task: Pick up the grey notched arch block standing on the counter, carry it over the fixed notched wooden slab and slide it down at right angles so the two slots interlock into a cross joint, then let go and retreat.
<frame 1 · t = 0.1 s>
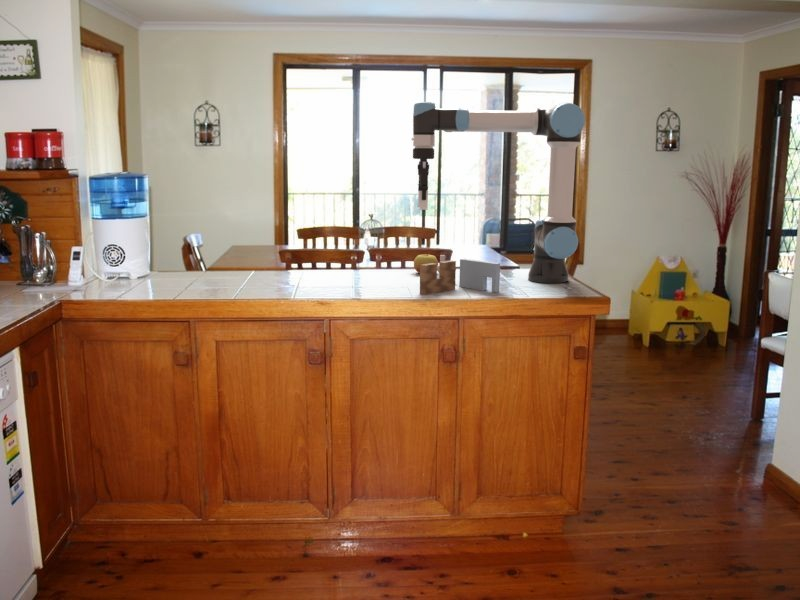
hand: (422, 208, 270), 28 cm above the table, fingers open, 13 cm apart
notched wooden slab: (437, 291, 264), on the table
grey notched arch block: (478, 289, 269), on the table
apple: (425, 273, 304), on the table
pipe connector: (442, 282, 284), on the table
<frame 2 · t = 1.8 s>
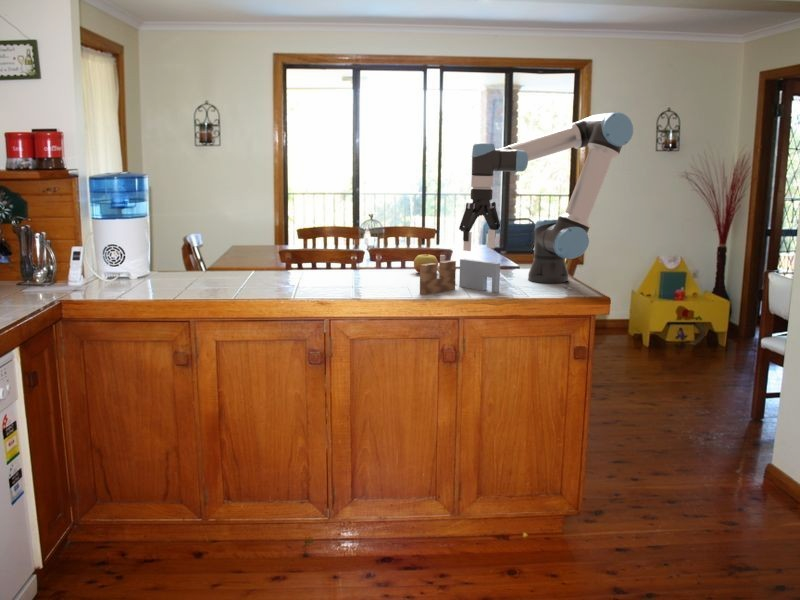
hand: (479, 249, 266), 14 cm above the table, fingers open, 13 cm apart
nothing on the table moved.
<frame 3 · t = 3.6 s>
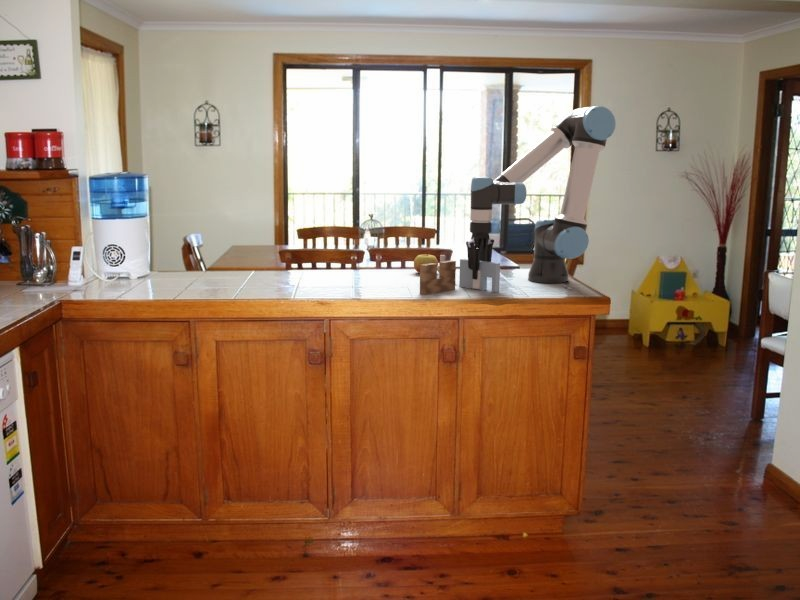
hand: (479, 287, 269), 1 cm above the table, fingers closed on grey notched arch block, 2 cm apart
grey notched arch block: (478, 289, 269), on the table, touching gripper
everything else where it was.
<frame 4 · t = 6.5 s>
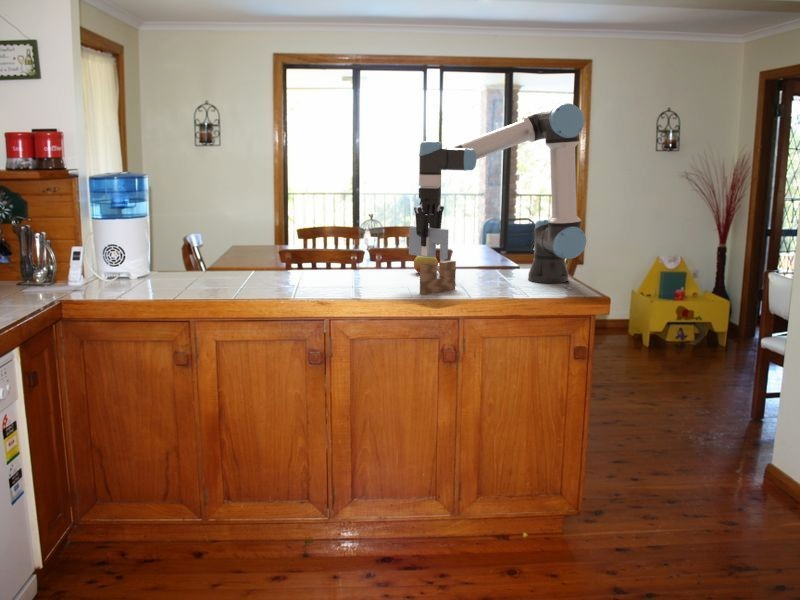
hand: (428, 255, 265), 12 cm above the table, fingers closed on grey notched arch block, 2 cm apart
grey notched arch block: (427, 256, 265), point 12 cm above the table, touching gripper
everything else where it was.
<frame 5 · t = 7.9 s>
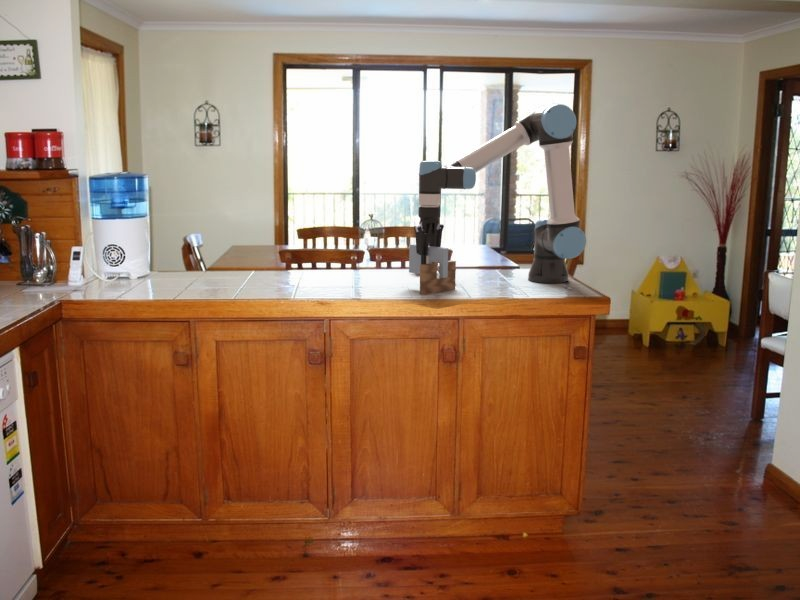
hand: (428, 273, 266), 6 cm above the table, fingers closed on grey notched arch block, 2 cm apart
grey notched arch block: (427, 274, 266), point 5 cm above the table, touching gripper
everything else where it was.
when the fingers open (2 cm above the table, at t = 9.3 s): grey notched arch block drops 1 cm, on the table.
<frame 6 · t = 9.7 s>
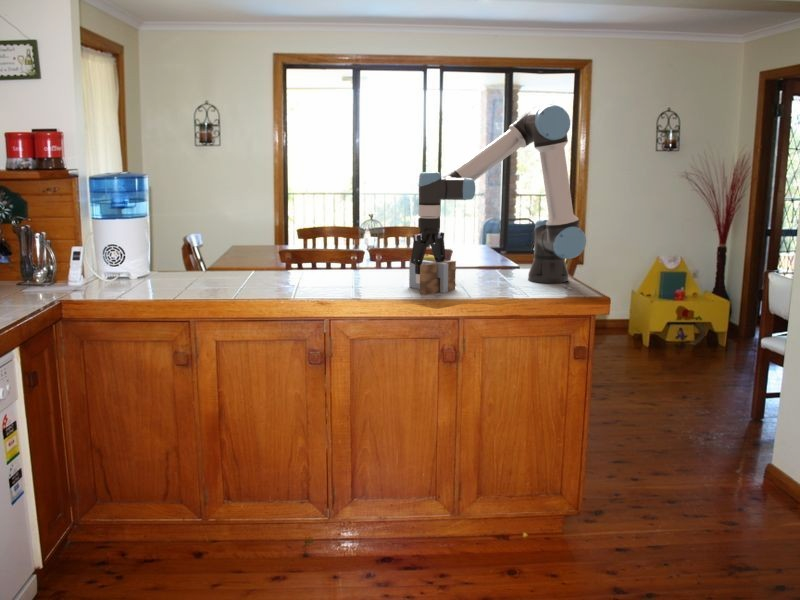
hand: (428, 281, 266), 3 cm above the table, fingers open, 8 cm apart
grey notched arch block: (428, 289, 267), on the table
everything else where it was.
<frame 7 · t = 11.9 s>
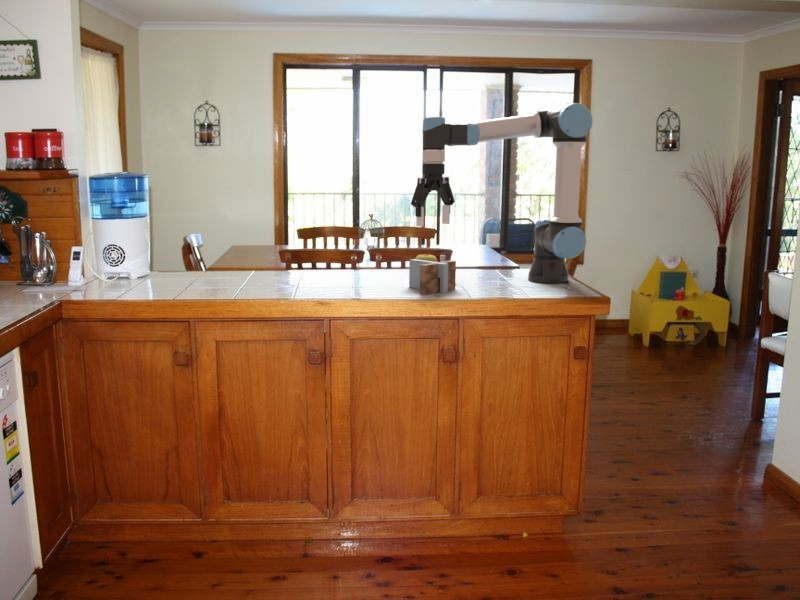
hand: (433, 225, 263), 23 cm above the table, fingers open, 13 cm apart
nothing on the table moved.
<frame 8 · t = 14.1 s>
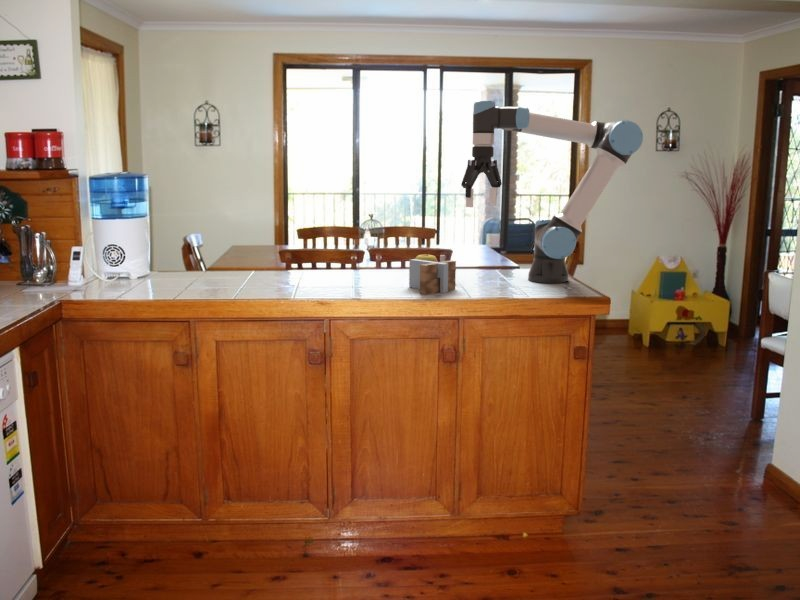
hand: (481, 206, 272), 29 cm above the table, fingers open, 13 cm apart
nothing on the table moved.
at the end: grey notched arch block 0.0 cm from the target spot on the table beside the notched wooden slab, on the table; grey notched arch block tilted 0°; the gripper is holding nothing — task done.
